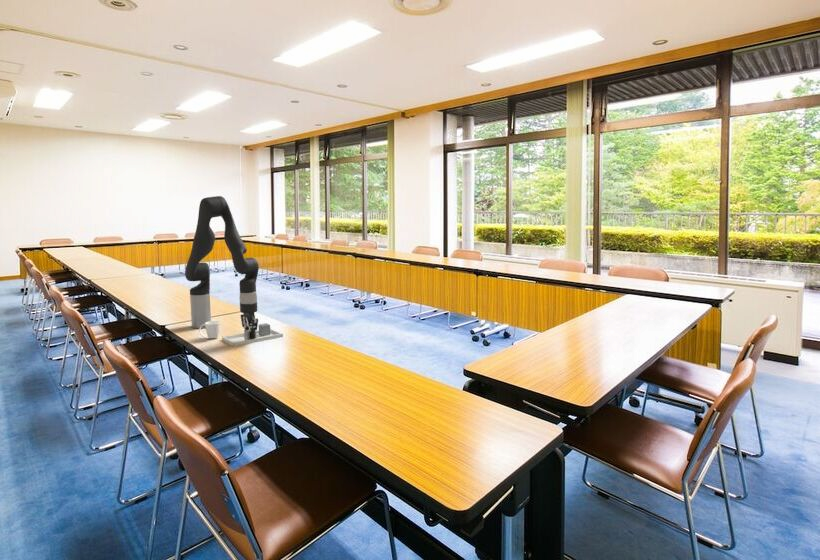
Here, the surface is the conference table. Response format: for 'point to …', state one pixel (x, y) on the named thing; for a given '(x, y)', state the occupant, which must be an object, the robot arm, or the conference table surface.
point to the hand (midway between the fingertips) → (250, 337)
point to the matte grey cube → (264, 329)
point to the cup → (211, 329)
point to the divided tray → (239, 339)
